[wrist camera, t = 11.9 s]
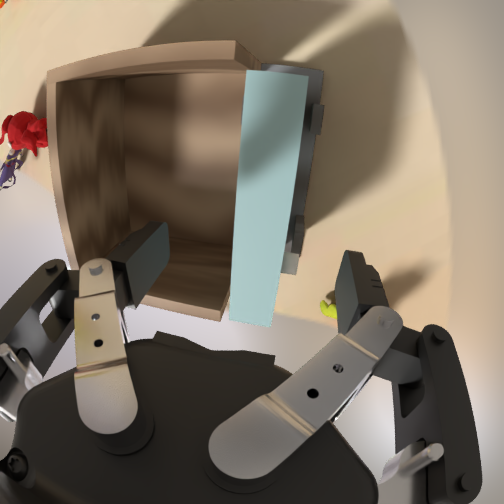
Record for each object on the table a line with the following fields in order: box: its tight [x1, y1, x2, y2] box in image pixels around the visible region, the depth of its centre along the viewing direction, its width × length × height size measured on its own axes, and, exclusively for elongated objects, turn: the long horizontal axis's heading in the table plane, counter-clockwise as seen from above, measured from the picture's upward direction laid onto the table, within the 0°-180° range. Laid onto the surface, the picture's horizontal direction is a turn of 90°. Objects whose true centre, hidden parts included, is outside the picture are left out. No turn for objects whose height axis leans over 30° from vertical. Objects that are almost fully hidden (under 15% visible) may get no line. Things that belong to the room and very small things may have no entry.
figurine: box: [0, 111, 48, 190], centre depth 27 cm, size 6×8×15 cm
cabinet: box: [46, 40, 324, 322], centre depth 23 cm, size 20×21×11 cm
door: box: [229, 70, 309, 327], centre depth 21 cm, size 16×4×12 cm, turn 175°
